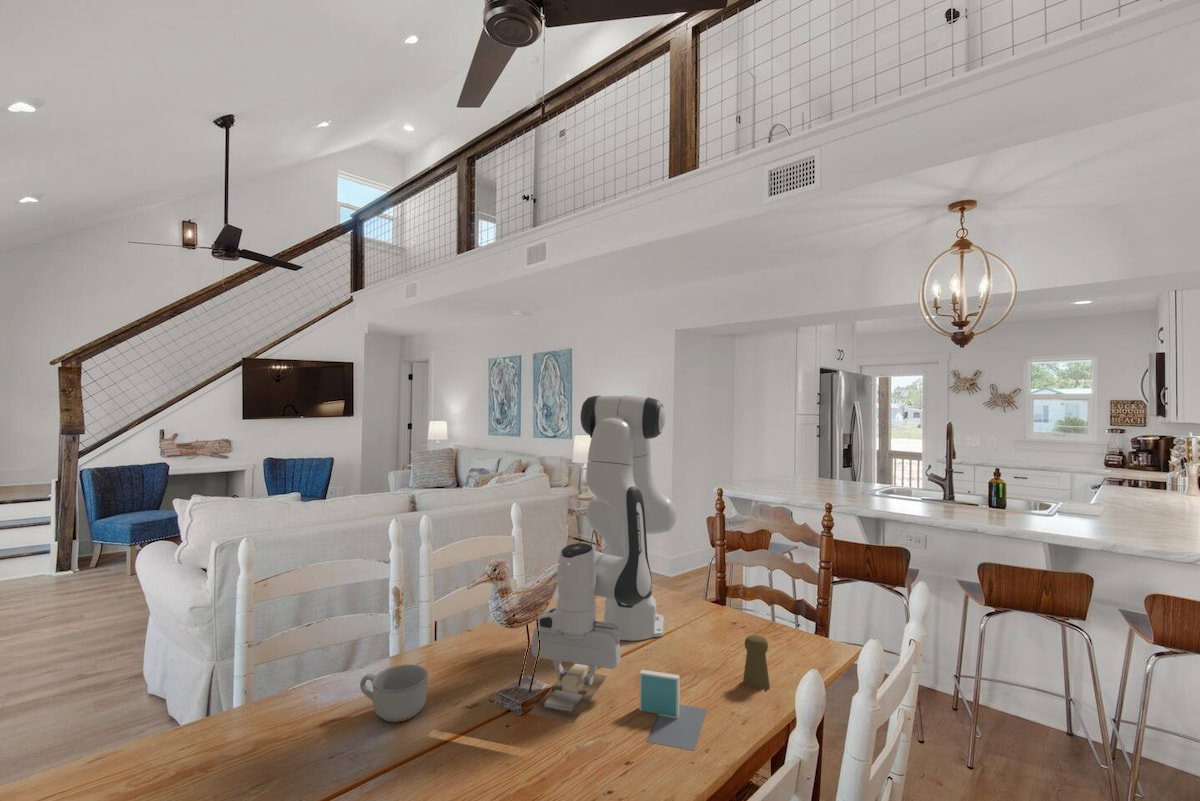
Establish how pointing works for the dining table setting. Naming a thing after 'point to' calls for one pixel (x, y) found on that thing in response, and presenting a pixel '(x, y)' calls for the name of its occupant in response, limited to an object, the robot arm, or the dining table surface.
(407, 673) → the teacup
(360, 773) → the dining table surface
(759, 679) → the olive green pawn
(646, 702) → the tile
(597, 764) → the dining table surface
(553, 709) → the board
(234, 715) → the dining table surface
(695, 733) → the mat
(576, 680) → the beige upright plank
